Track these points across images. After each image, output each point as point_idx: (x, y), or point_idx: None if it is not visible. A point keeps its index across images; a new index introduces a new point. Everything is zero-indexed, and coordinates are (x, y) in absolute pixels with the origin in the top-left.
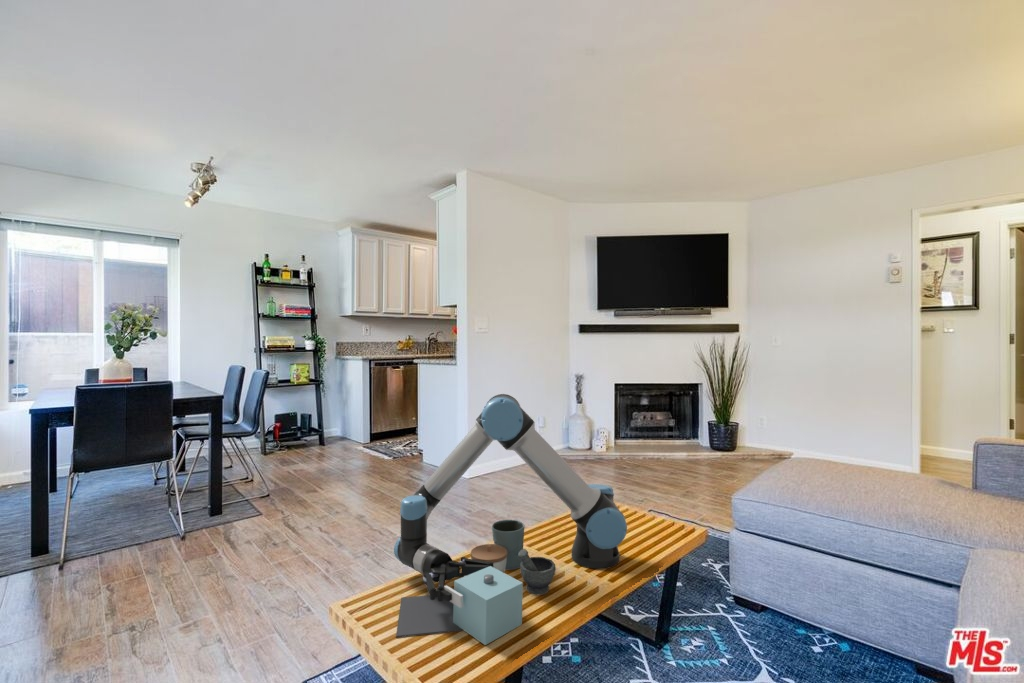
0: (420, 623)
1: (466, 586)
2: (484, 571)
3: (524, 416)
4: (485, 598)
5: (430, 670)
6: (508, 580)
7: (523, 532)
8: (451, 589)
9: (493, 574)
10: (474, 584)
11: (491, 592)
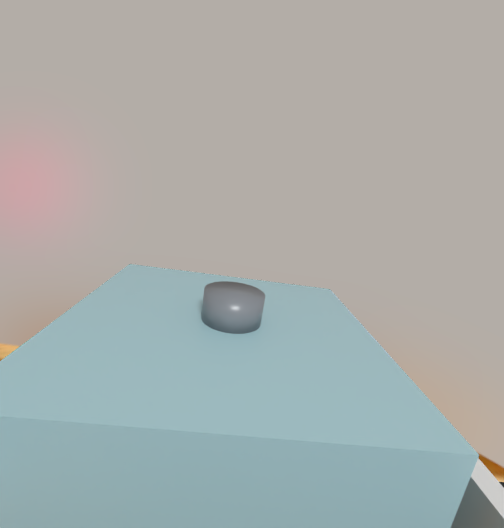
0: None
1: (380, 356)
2: (118, 386)
3: None
4: (328, 292)
5: (501, 477)
6: (146, 285)
7: None
8: (487, 484)
9: (129, 332)
10: (321, 344)
11: (284, 292)
